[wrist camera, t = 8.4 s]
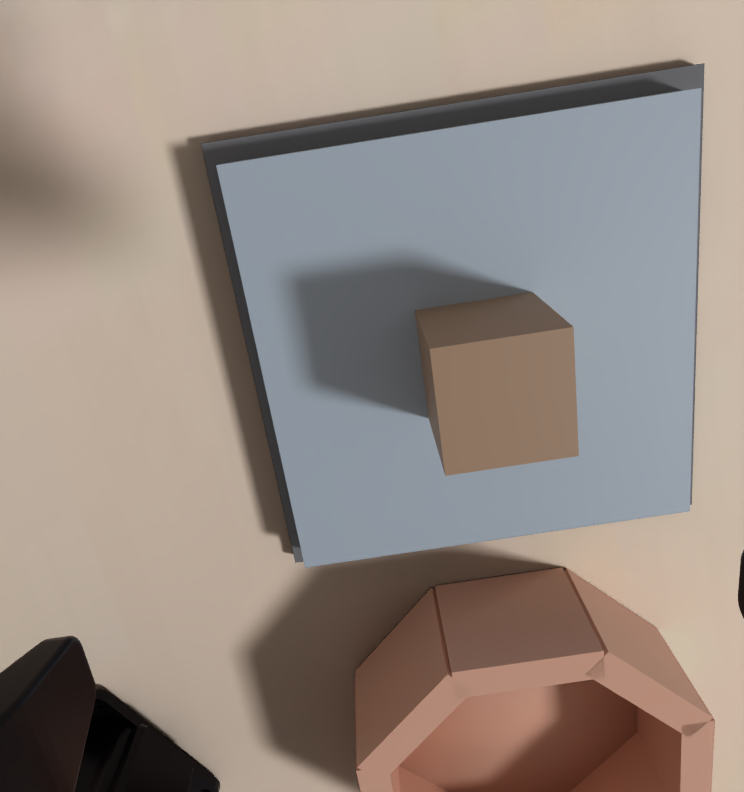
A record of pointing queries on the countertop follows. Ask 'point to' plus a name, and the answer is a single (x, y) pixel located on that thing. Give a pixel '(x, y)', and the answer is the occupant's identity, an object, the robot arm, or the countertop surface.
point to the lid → (477, 324)
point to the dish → (528, 696)
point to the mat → (411, 124)
